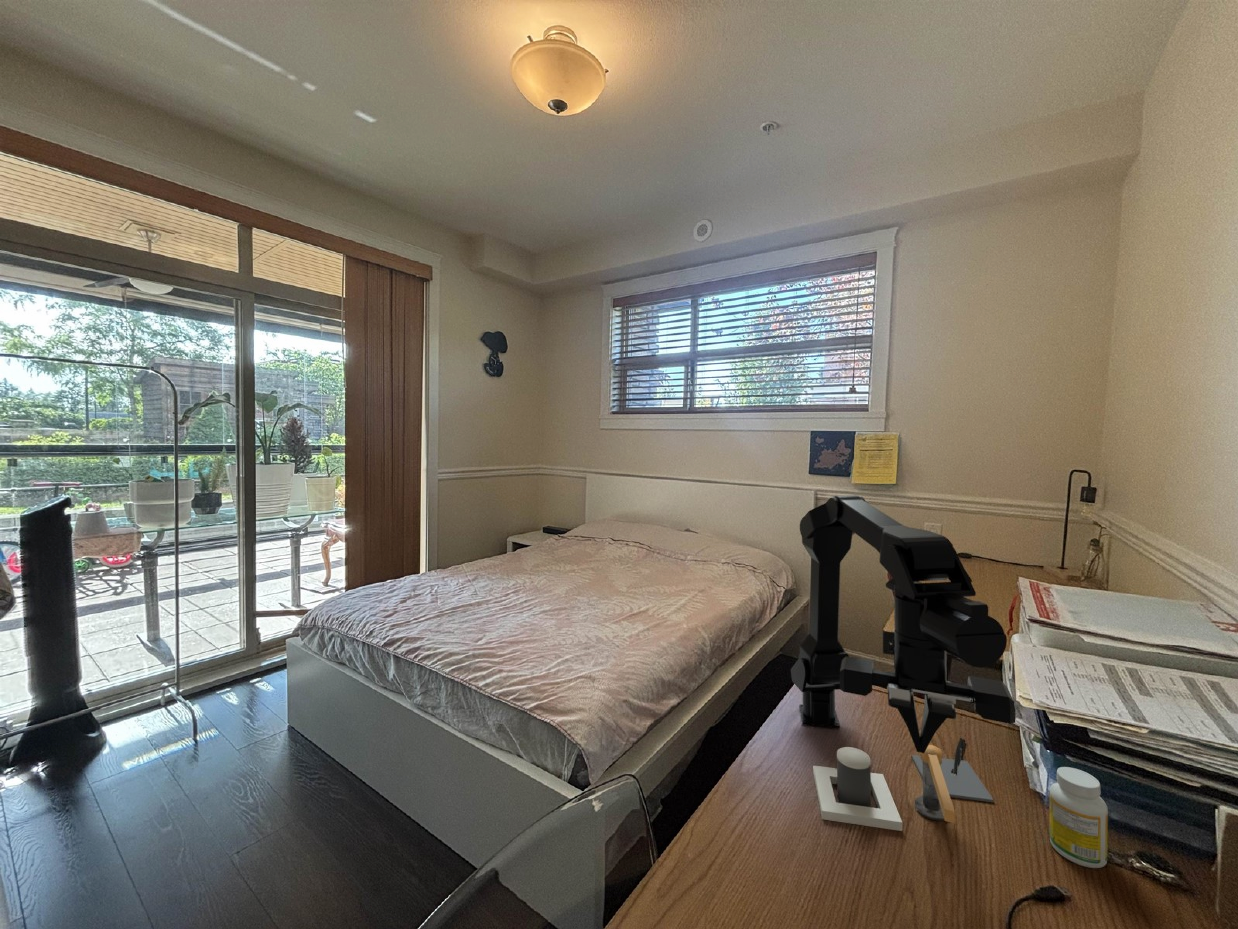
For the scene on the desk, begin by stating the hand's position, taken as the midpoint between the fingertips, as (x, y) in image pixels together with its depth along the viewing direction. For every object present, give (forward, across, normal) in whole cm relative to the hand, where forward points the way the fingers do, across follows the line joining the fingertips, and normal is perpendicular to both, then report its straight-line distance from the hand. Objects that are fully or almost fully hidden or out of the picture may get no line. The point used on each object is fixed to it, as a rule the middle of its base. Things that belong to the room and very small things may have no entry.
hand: (920, 750), depth 65 cm
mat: (+12, -5, -15) cm, 20 cm away
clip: (+4, -2, -1) cm, 5 cm away
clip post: (+12, -2, -6) cm, 13 cm away
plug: (+12, +8, -4) cm, 15 cm away
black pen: (+12, -6, -21) cm, 25 cm away
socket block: (+12, +8, -4) cm, 15 cm away
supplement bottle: (+12, -17, -6) cm, 22 cm away
